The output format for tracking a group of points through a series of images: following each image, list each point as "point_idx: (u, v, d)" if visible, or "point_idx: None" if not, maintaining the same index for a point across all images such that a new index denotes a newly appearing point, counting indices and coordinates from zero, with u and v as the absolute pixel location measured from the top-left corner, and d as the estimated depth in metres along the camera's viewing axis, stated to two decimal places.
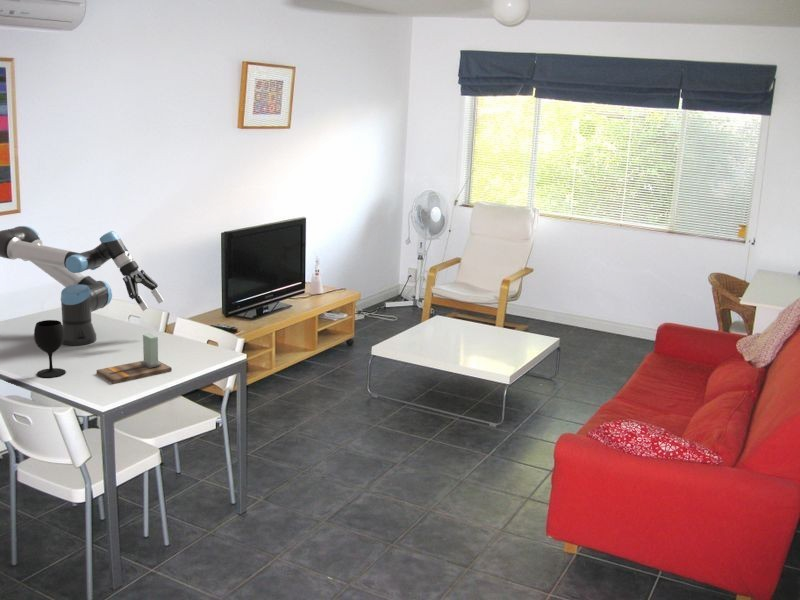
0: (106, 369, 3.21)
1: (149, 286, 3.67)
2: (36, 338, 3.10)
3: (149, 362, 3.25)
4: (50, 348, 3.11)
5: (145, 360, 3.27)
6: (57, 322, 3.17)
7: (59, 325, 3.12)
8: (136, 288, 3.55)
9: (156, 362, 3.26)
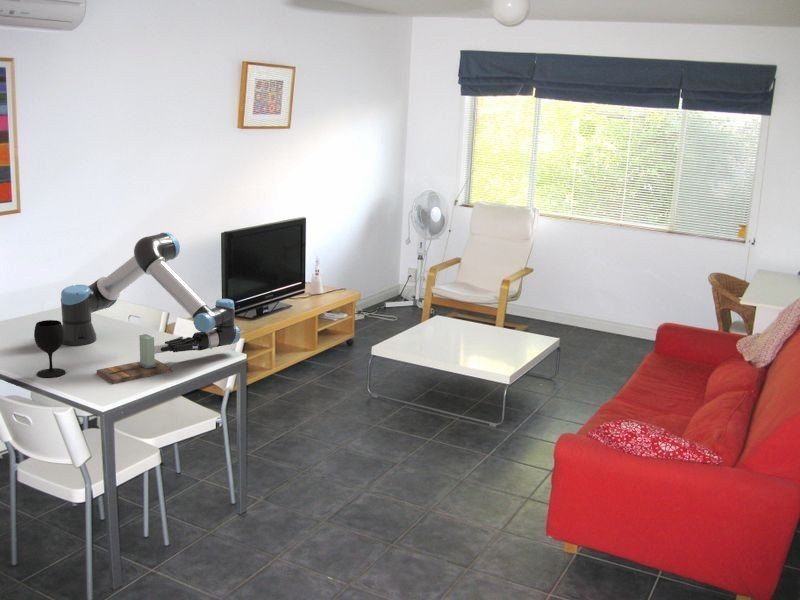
0: (106, 369, 3.21)
1: None
2: (36, 338, 3.10)
3: (145, 363, 3.24)
4: (50, 348, 3.11)
5: (141, 361, 3.26)
6: (57, 322, 3.17)
7: (59, 325, 3.12)
8: None
9: (152, 363, 3.25)
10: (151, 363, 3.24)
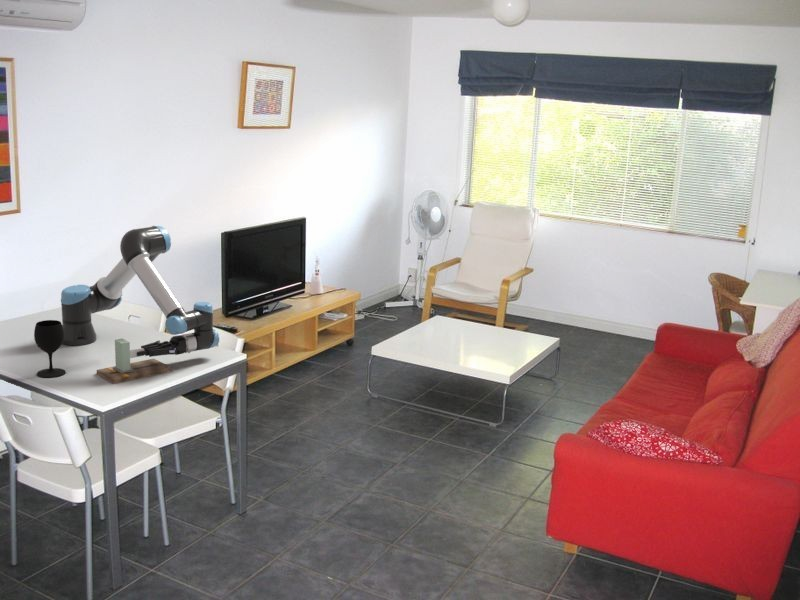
0: (106, 369, 3.21)
1: None
2: (36, 338, 3.10)
3: (121, 368, 3.17)
4: (50, 348, 3.11)
5: (117, 366, 3.19)
6: (57, 322, 3.17)
7: (59, 325, 3.12)
8: None
9: (128, 368, 3.18)
10: (127, 368, 3.17)
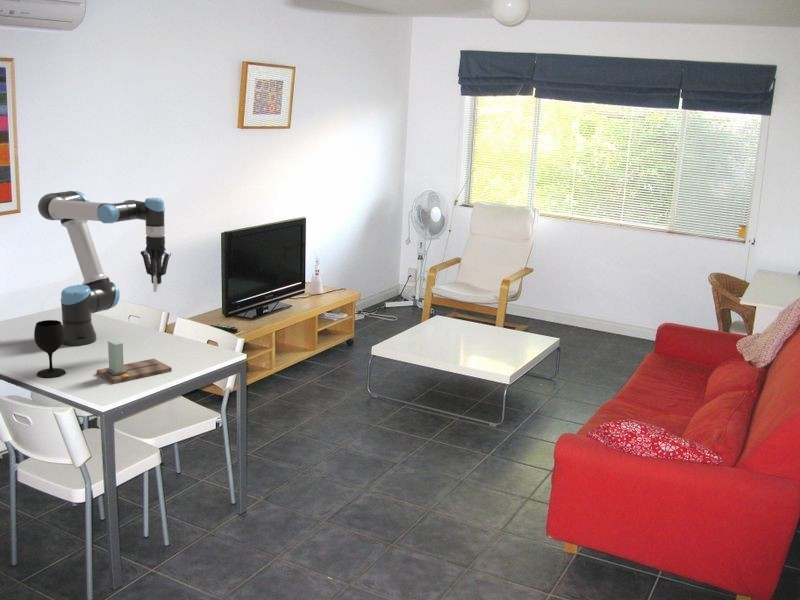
0: None
1: None
2: (36, 338, 3.10)
3: (114, 369, 3.15)
4: (50, 348, 3.11)
5: (110, 367, 3.17)
6: (57, 322, 3.17)
7: (59, 325, 3.12)
8: (151, 267, 3.47)
9: (121, 369, 3.16)
10: (120, 369, 3.16)
